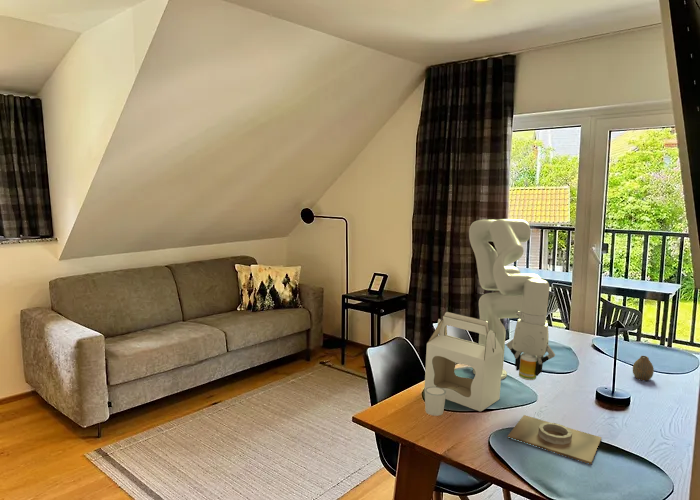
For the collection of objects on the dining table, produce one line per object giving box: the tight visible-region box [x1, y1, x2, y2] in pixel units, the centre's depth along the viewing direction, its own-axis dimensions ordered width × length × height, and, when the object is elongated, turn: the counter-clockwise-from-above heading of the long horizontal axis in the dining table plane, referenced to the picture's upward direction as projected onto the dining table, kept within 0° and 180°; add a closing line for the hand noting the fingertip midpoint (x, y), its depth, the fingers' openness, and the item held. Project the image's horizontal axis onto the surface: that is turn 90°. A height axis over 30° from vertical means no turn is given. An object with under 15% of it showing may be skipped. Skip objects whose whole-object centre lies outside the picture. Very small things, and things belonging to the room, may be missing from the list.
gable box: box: [424, 311, 503, 412], centre depth 168 cm, size 22×13×28 cm, turn 47°
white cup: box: [424, 387, 446, 417], centre depth 157 cm, size 7×7×7 cm
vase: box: [632, 355, 655, 382], centre depth 189 cm, size 7×7×9 cm
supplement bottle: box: [518, 352, 538, 381], centre depth 159 cm, size 5×5×10 cm
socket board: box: [507, 414, 603, 465], centre depth 143 cm, size 22×16×3 cm
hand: (527, 371), depth 160 cm, fingers closed on supplement bottle, 5 cm apart
